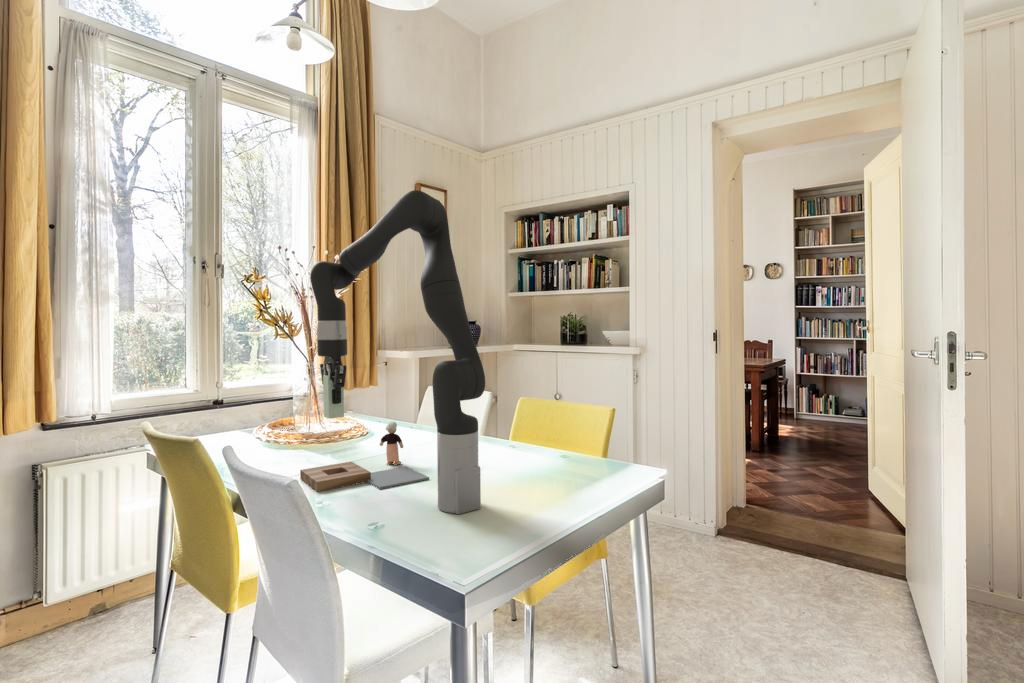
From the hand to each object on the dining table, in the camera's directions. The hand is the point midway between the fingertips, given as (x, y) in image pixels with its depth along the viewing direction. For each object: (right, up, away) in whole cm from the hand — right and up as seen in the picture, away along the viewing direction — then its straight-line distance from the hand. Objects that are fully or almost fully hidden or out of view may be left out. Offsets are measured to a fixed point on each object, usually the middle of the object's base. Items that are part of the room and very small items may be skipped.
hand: (333, 402), depth 141 cm
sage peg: (0, -4, 0) cm, 4 cm away
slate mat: (+15, -21, +2) cm, 26 cm away
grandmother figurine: (+12, -21, +17) cm, 29 cm away
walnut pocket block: (0, -21, +1) cm, 21 cm away
